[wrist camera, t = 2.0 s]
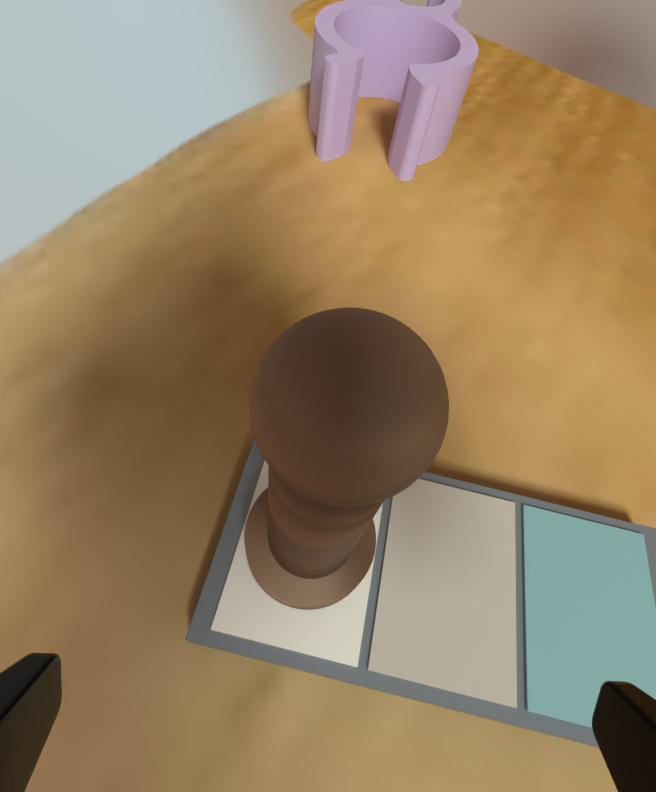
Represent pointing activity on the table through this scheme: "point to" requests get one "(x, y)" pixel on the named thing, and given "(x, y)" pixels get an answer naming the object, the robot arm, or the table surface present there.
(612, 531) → the board
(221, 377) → the table surface
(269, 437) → the pawn
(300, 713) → the table surface
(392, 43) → the clip
